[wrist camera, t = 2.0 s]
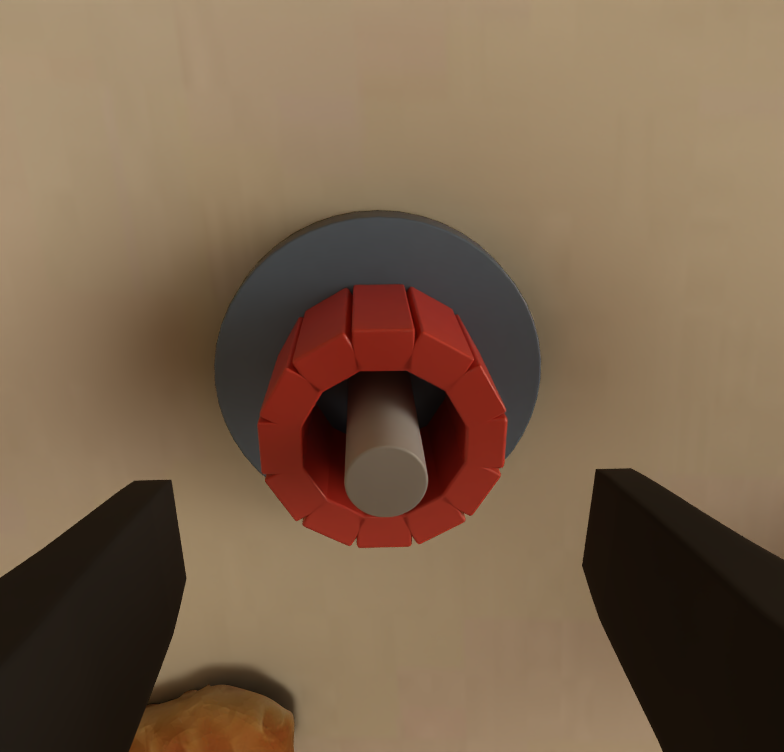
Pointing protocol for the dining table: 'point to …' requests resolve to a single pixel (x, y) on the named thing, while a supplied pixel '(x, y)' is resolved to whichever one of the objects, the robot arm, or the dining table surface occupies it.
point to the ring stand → (376, 388)
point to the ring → (328, 445)
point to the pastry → (215, 723)
